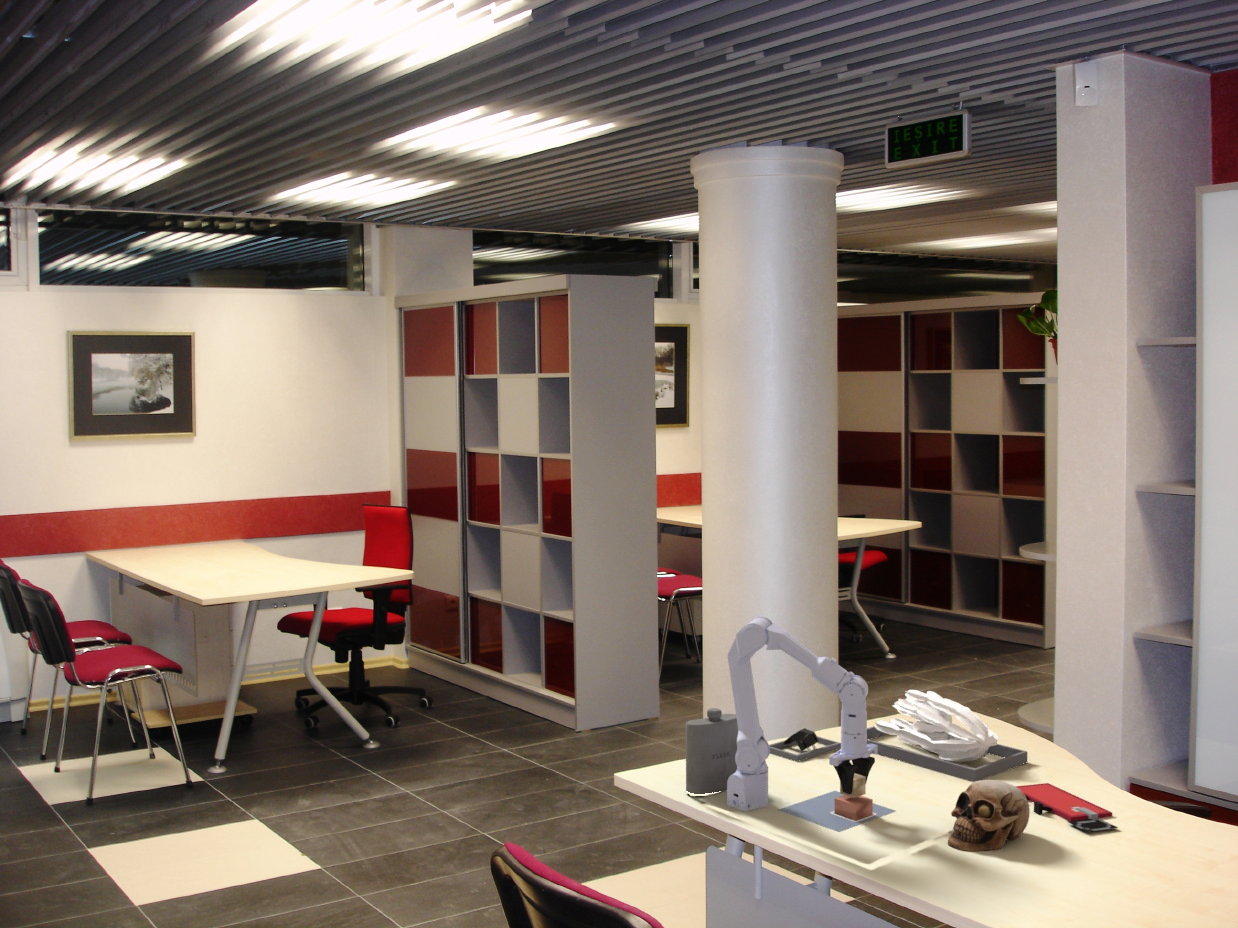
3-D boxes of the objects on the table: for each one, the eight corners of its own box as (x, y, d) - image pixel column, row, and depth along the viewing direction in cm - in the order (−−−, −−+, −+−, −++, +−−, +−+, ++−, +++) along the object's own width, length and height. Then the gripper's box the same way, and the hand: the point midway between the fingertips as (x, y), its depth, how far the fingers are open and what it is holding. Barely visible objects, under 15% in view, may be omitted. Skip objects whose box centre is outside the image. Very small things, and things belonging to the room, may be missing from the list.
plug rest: (797, 761, 306) (797, 755, 306) (764, 751, 315) (764, 745, 315) (840, 748, 317) (840, 742, 317) (808, 738, 326) (808, 733, 326)
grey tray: (974, 781, 289) (974, 770, 289) (845, 744, 320) (845, 734, 320) (1027, 762, 304) (1027, 751, 304) (899, 729, 335) (899, 718, 335)
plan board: (838, 836, 254) (838, 831, 254) (777, 813, 268) (777, 808, 268) (896, 814, 267) (896, 810, 266) (835, 794, 280) (835, 790, 280)
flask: (696, 799, 278) (695, 716, 276) (681, 792, 283) (681, 711, 281) (745, 788, 286) (745, 707, 284) (731, 781, 290) (730, 702, 289)
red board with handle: (1079, 836, 253) (1136, 829, 258) (1079, 823, 253) (1136, 817, 258) (995, 794, 282) (1047, 788, 286) (995, 782, 282) (1048, 777, 286)
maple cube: (854, 797, 262) (854, 780, 262) (840, 793, 265) (840, 775, 265) (865, 793, 264) (865, 776, 264) (851, 789, 267) (851, 772, 267)
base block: (855, 820, 260) (855, 805, 260) (834, 813, 265) (834, 798, 265) (872, 814, 264) (872, 799, 264) (851, 807, 269) (851, 792, 269)
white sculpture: (1022, 728, 301) (933, 695, 333) (977, 698, 294) (890, 667, 326) (993, 788, 299) (906, 749, 330) (946, 758, 292) (862, 721, 323)
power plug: (784, 740, 323) (813, 722, 315) (798, 765, 320) (828, 748, 313) (772, 746, 318) (802, 728, 311) (786, 771, 316) (817, 753, 309)
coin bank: (944, 847, 247) (948, 783, 247) (955, 828, 263) (959, 768, 263) (1022, 861, 241) (1026, 796, 241) (1029, 840, 256) (1033, 779, 257)
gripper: (846, 741, 256) (846, 802, 257) (888, 728, 265) (888, 787, 266) (822, 734, 261) (822, 793, 262) (863, 722, 271) (863, 780, 271)
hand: (853, 790), depth 264 cm, fingers closed on maple cube, 4 cm apart
